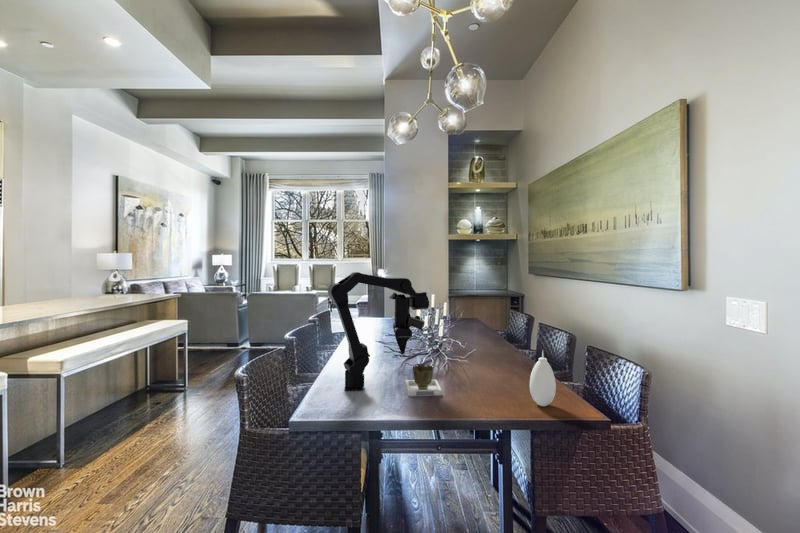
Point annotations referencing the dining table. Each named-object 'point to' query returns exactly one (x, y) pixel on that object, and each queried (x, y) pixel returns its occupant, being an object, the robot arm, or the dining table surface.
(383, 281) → the robot arm
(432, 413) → the dining table surface
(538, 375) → the air blower bulb
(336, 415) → the dining table surface
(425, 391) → the white tray
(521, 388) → the dining table surface
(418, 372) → the brown hollow flared piece
